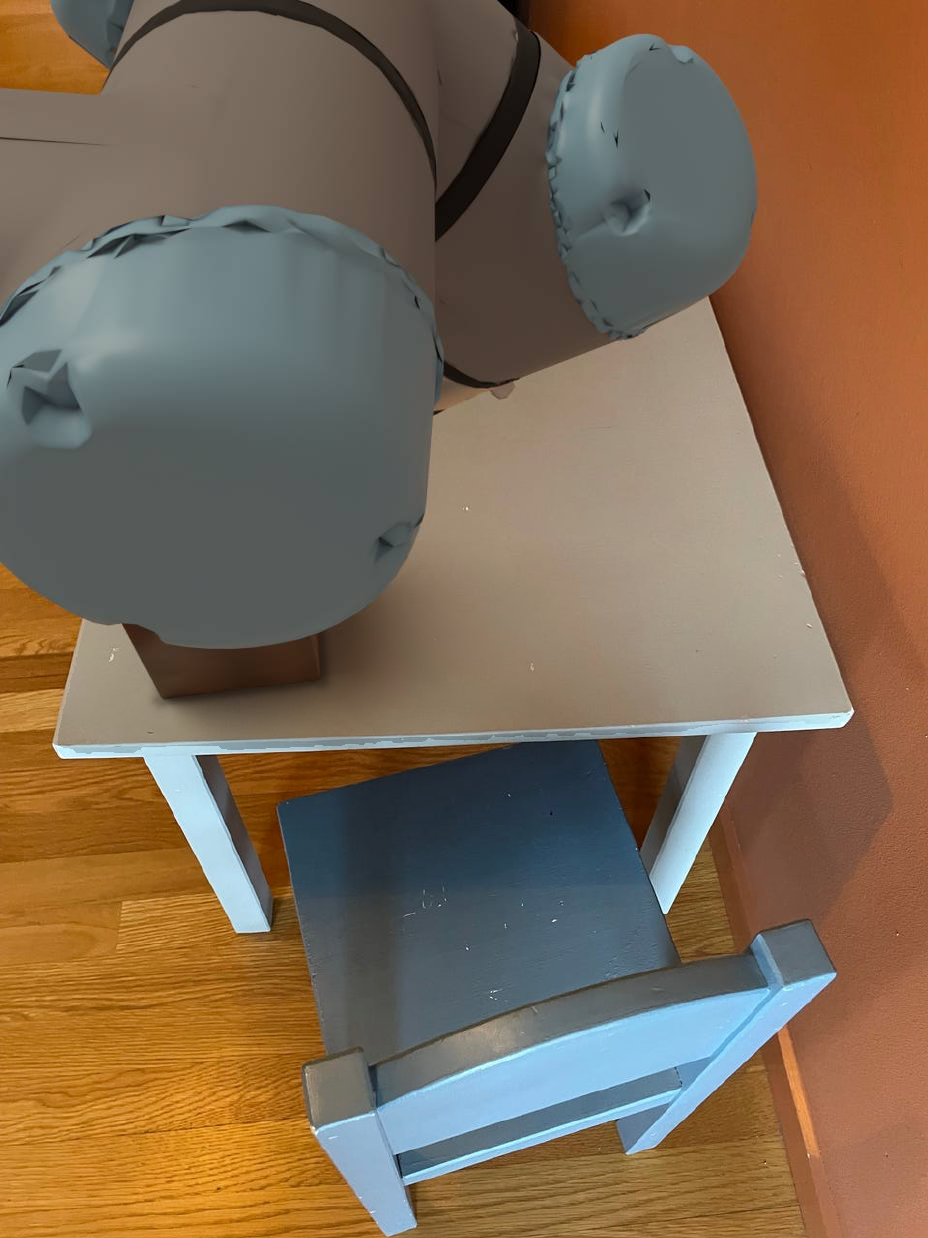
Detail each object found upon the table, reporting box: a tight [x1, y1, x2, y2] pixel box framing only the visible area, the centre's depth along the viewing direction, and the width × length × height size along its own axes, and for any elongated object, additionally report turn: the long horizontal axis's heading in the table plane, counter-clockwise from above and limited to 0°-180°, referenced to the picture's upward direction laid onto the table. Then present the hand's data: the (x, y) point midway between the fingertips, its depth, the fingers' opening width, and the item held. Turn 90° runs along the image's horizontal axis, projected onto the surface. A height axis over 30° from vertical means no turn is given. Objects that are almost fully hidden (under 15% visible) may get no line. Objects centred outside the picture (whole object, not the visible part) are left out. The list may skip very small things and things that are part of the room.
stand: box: [121, 623, 321, 699], centre depth 72 cm, size 13×13×16 cm
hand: (224, 434), depth 55 cm, fingers open, 13 cm apart
